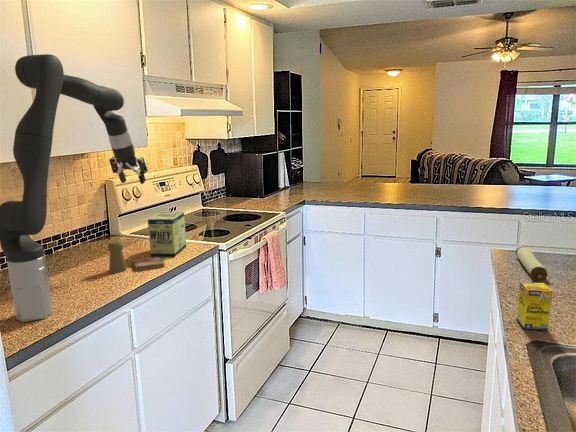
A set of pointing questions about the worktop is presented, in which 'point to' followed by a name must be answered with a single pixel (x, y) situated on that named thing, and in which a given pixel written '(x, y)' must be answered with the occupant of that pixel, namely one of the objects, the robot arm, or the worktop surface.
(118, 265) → the cork
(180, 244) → the protein box
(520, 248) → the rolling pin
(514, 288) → the worktop surface
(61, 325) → the worktop surface
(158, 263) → the brown square tray
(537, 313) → the supplement box
